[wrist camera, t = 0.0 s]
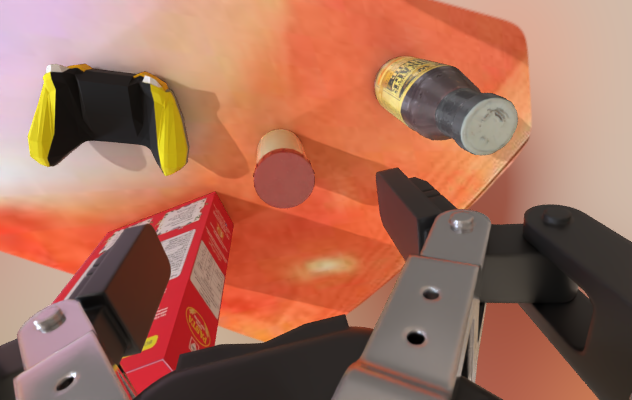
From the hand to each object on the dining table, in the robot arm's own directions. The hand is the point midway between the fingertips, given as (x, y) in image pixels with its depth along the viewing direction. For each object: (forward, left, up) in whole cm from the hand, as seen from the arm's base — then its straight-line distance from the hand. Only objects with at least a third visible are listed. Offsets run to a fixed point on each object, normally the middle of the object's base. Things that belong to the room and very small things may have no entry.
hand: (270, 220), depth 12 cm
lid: (+7, 0, -21) cm, 22 cm away
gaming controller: (-1, -16, -30) cm, 34 cm away
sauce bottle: (+2, +15, -30) cm, 34 cm away
